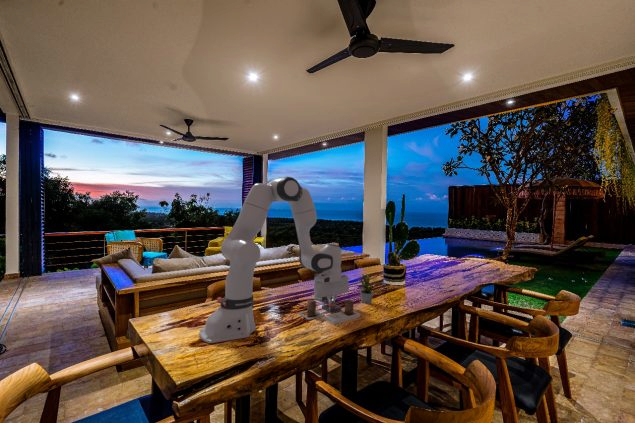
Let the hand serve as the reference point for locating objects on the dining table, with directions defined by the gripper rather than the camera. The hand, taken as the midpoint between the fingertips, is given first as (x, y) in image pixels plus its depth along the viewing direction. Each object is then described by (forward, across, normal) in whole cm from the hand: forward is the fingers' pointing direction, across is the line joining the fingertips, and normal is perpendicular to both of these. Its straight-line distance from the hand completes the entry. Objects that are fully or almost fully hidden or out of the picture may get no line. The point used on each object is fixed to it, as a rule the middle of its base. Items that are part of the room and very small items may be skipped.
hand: (331, 303), depth 150 cm
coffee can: (+4, -8, -18) cm, 20 cm away
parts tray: (+4, +13, +1) cm, 14 cm away
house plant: (+4, -24, -1) cm, 24 cm away
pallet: (+4, +3, +12) cm, 13 cm away
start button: (+3, 0, 0) cm, 3 cm away
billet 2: (+3, -1, +12) cm, 12 cm away
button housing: (+4, 0, 0) cm, 4 cm away
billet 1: (+3, +13, +1) cm, 13 cm away
